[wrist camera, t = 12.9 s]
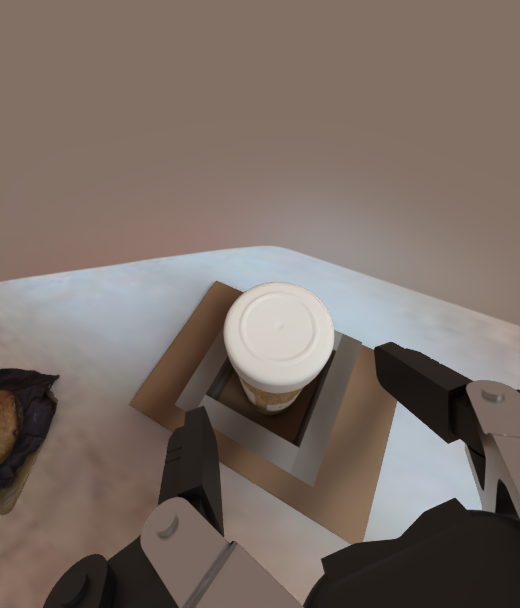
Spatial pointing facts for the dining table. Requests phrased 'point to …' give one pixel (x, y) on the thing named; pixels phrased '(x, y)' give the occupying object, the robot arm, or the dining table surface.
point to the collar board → (282, 420)
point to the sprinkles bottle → (277, 343)
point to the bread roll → (22, 427)
